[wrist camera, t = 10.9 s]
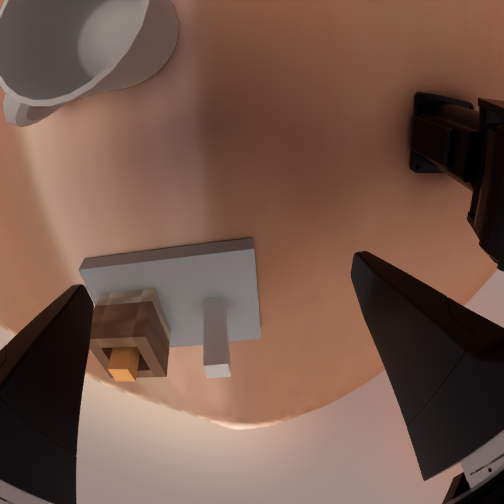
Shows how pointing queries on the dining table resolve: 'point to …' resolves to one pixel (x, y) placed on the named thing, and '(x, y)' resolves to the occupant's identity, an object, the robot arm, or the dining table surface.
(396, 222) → the dining table surface
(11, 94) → the cup
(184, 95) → the dining table surface
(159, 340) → the sleeve
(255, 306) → the pin board
